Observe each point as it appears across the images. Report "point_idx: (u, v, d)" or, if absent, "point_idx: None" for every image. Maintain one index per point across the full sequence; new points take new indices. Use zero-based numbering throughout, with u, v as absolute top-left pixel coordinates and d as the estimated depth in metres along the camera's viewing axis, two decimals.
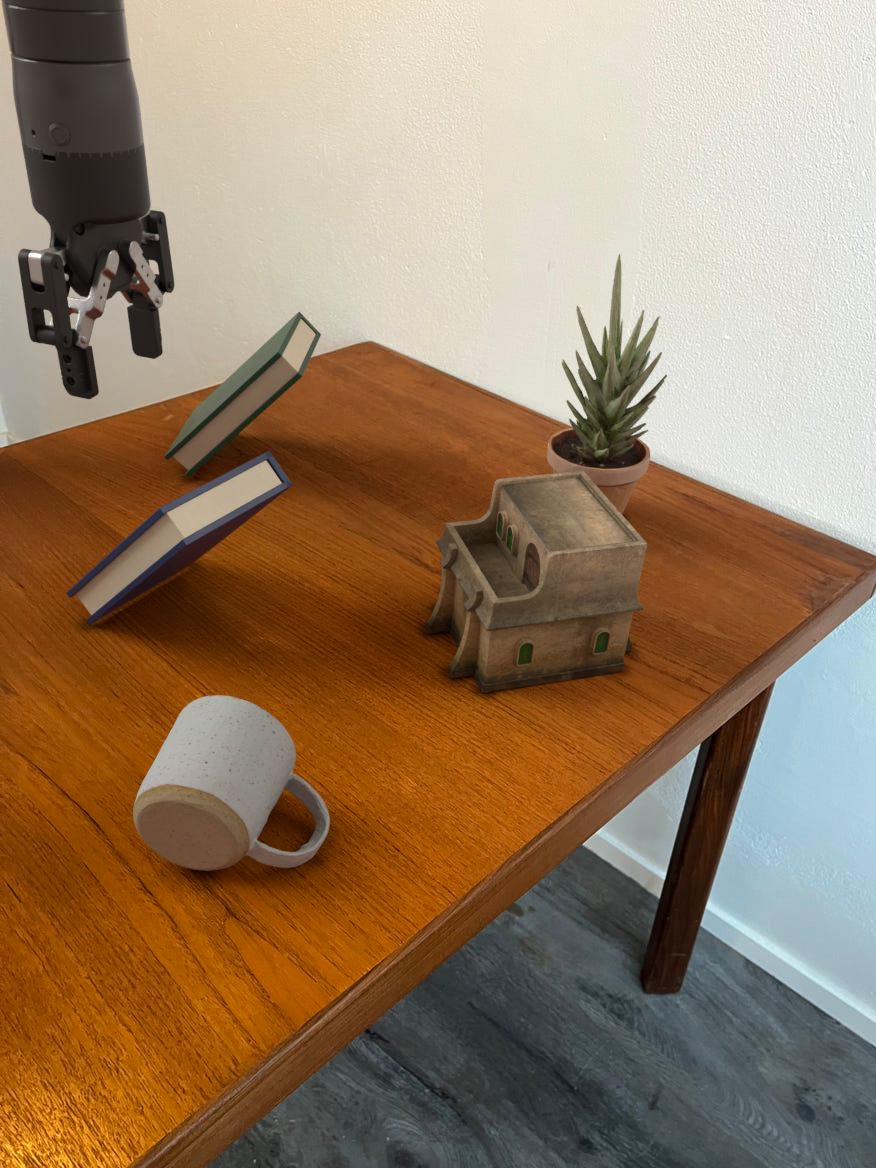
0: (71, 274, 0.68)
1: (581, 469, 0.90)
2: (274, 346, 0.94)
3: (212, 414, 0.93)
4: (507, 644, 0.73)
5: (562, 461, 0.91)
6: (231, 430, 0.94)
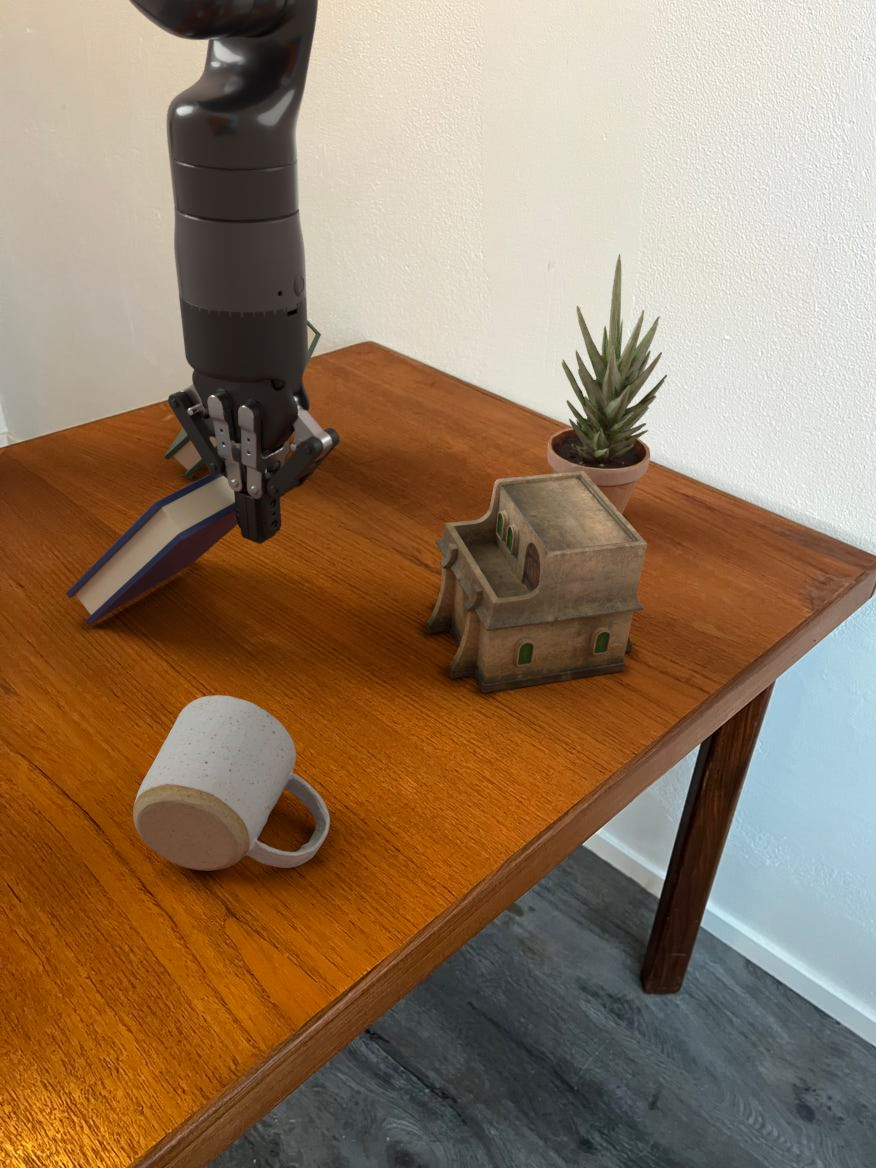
0: None
1: (581, 469, 0.90)
2: None
3: None
4: (507, 644, 0.73)
5: (562, 461, 0.91)
6: None
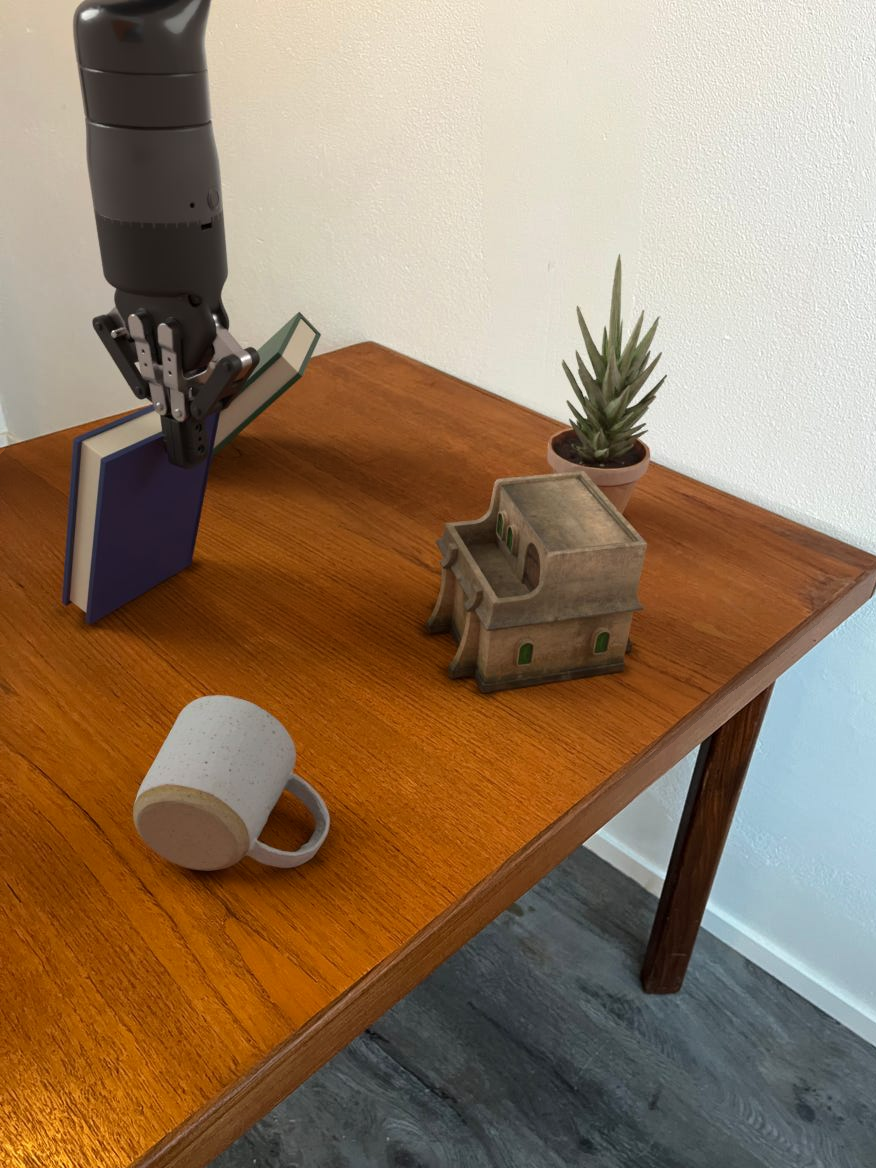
0: None
1: (581, 469, 0.90)
2: (274, 346, 0.94)
3: None
4: (507, 644, 0.73)
5: (562, 461, 0.91)
6: (231, 430, 0.94)
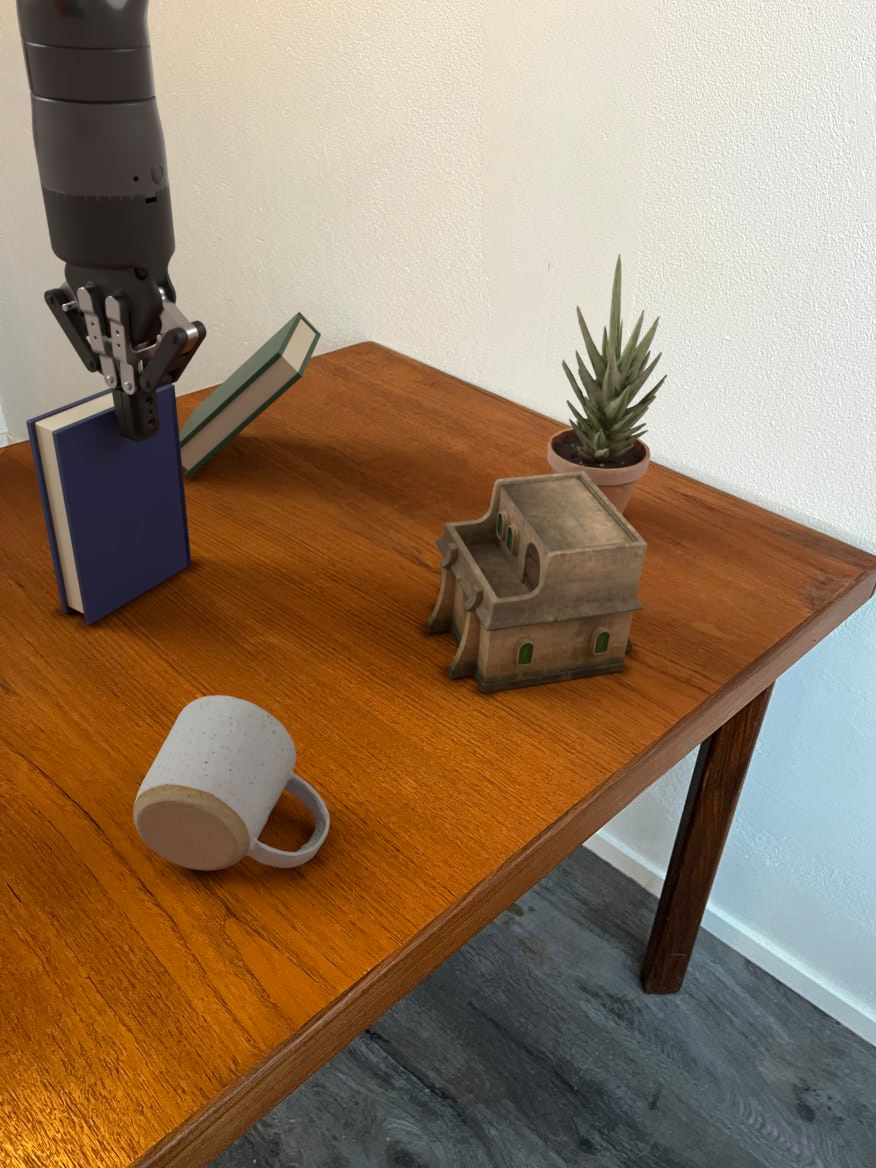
0: None
1: (581, 469, 0.90)
2: (274, 346, 0.94)
3: (212, 414, 0.93)
4: (507, 644, 0.73)
5: (562, 461, 0.91)
6: (231, 430, 0.94)
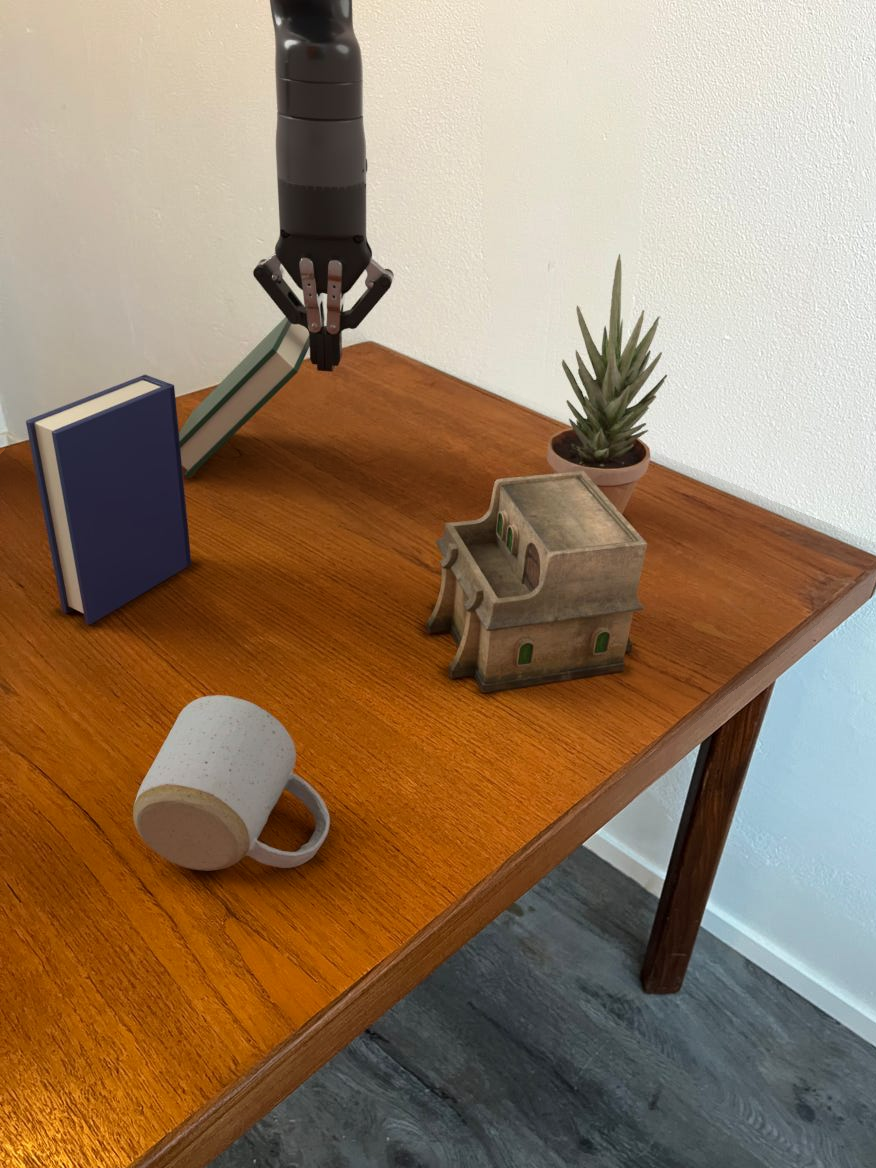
0: None
1: (581, 469, 0.90)
2: (269, 343, 0.93)
3: (209, 413, 0.93)
4: (507, 644, 0.73)
5: (562, 461, 0.91)
6: (229, 429, 0.94)
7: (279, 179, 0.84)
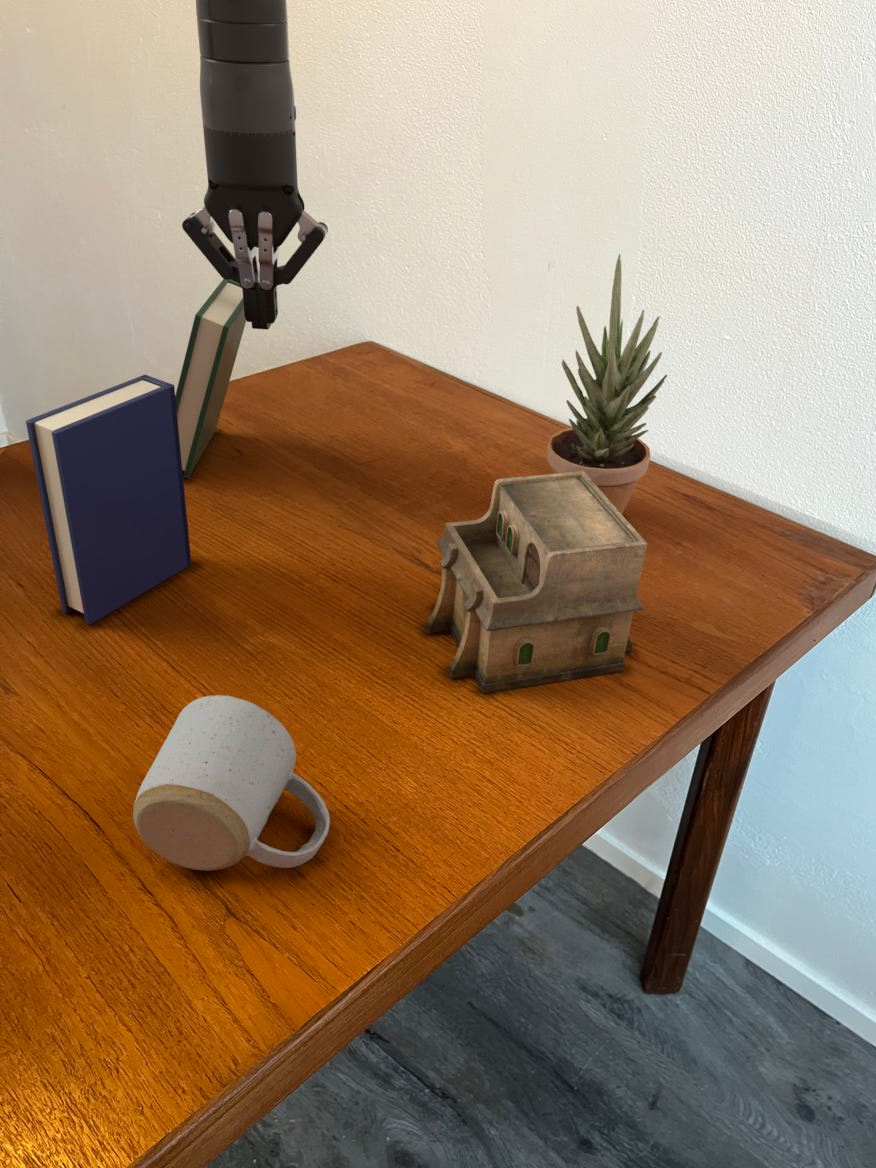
0: None
1: (581, 469, 0.90)
2: None
3: None
4: (507, 644, 0.73)
5: (562, 461, 0.91)
6: (199, 413, 0.93)
7: (204, 126, 0.82)
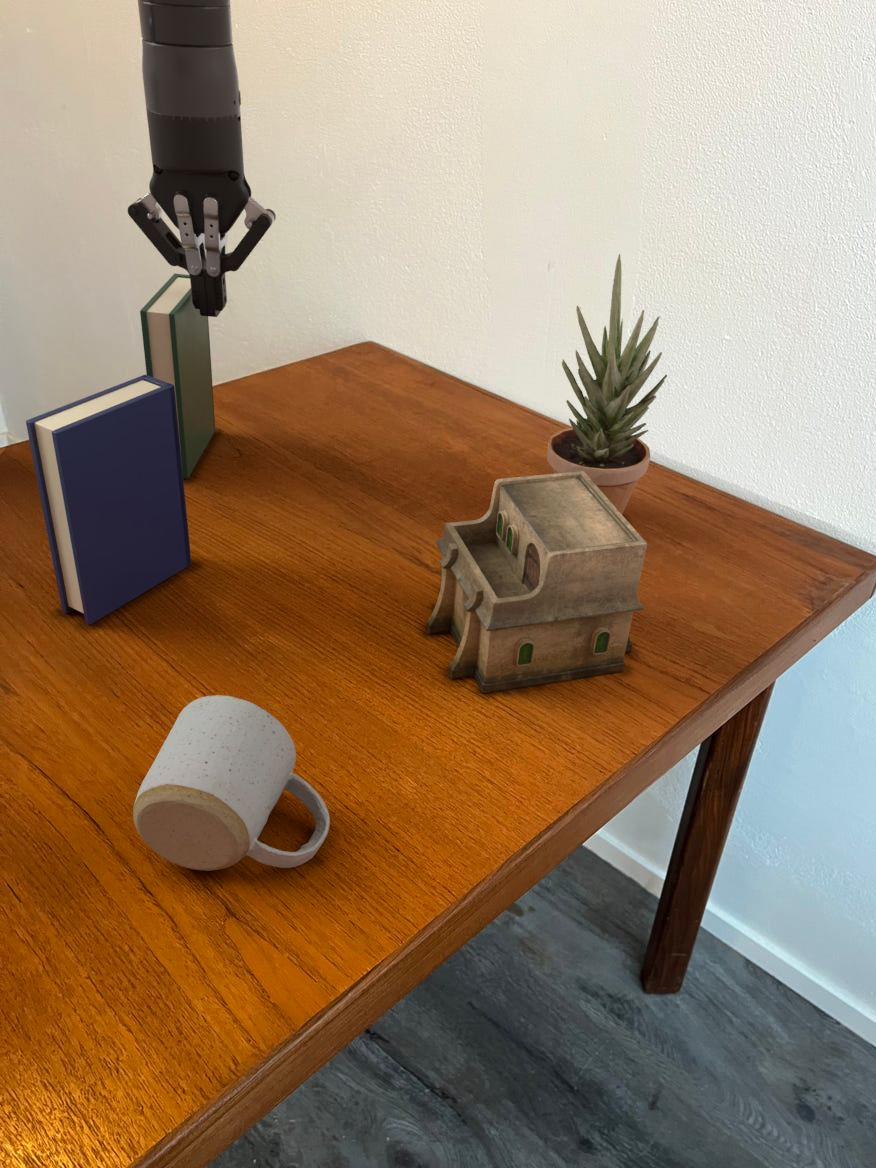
0: None
1: (581, 469, 0.90)
2: None
3: None
4: (507, 644, 0.73)
5: (562, 461, 0.91)
6: (177, 409, 0.93)
7: (147, 110, 0.82)
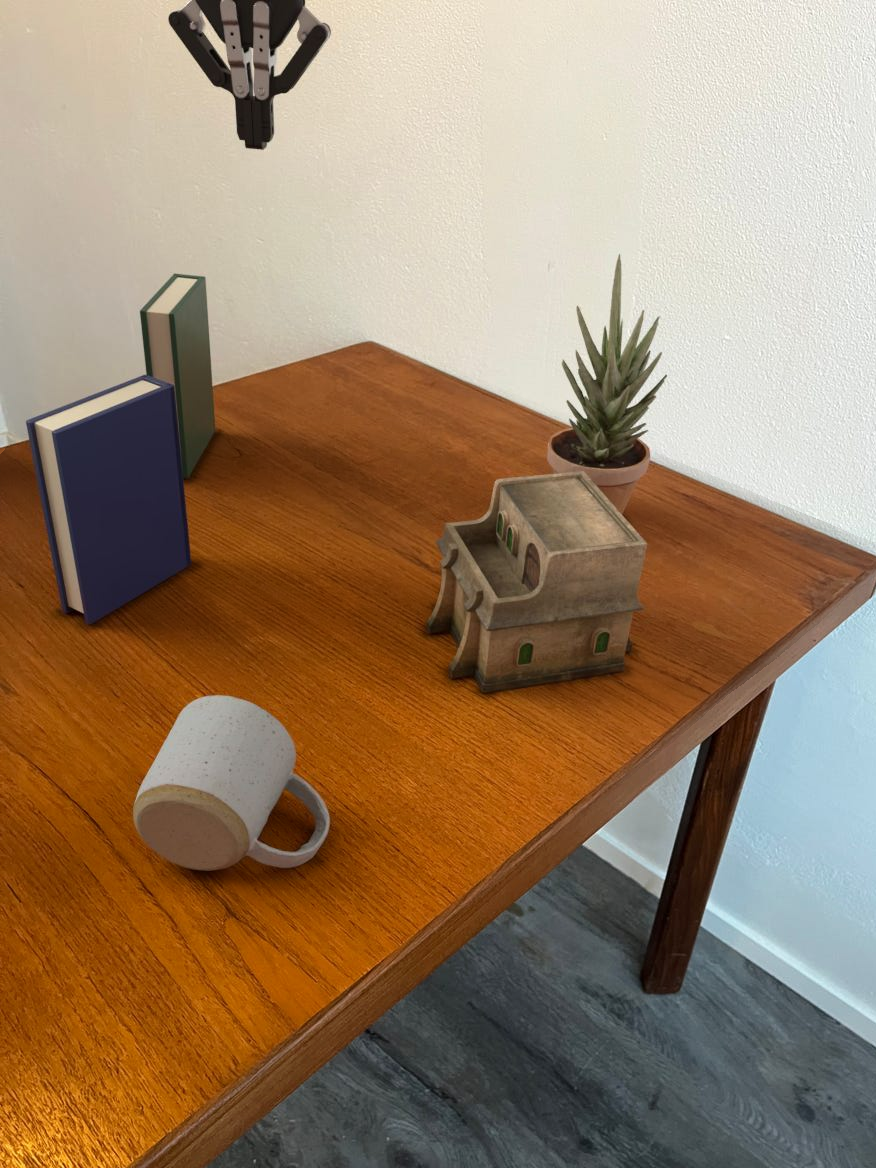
0: None
1: (581, 469, 0.90)
2: None
3: None
4: (507, 644, 0.73)
5: (562, 461, 0.91)
6: (177, 409, 0.93)
7: None
